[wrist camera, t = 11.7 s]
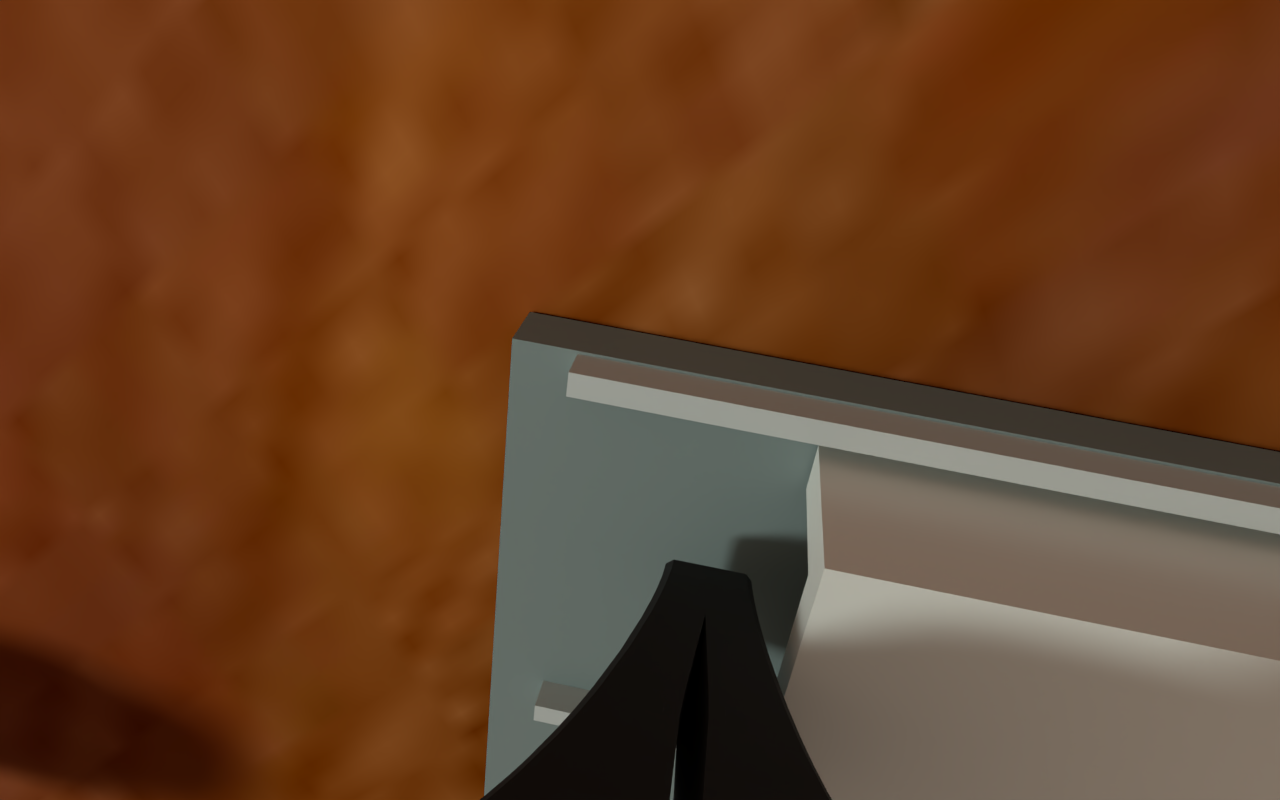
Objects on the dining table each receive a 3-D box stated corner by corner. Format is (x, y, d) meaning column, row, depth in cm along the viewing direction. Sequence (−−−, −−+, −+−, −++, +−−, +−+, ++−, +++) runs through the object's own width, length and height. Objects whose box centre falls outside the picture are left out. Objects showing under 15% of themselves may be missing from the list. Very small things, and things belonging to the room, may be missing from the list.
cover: (1131, 800, 15) (1193, 966, 13) (742, 717, 16) (732, 861, 13) (1306, 540, 12) (1432, 691, 10) (818, 445, 13) (824, 569, 10)
